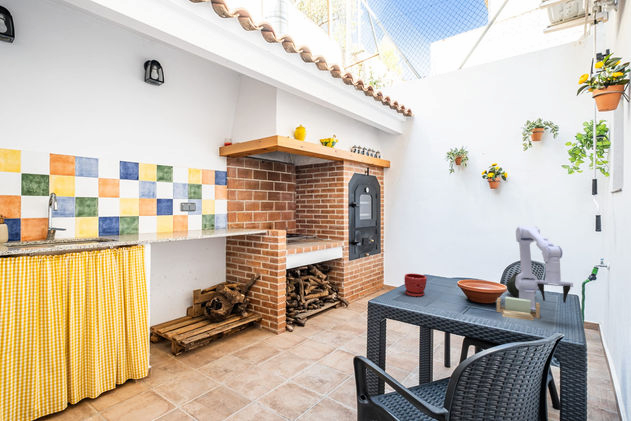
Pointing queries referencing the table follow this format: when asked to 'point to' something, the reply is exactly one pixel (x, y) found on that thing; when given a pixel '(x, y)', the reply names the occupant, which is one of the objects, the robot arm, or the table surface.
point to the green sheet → (518, 305)
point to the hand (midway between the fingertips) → (554, 301)
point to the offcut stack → (517, 315)
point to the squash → (513, 285)
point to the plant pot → (415, 284)
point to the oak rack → (500, 309)
